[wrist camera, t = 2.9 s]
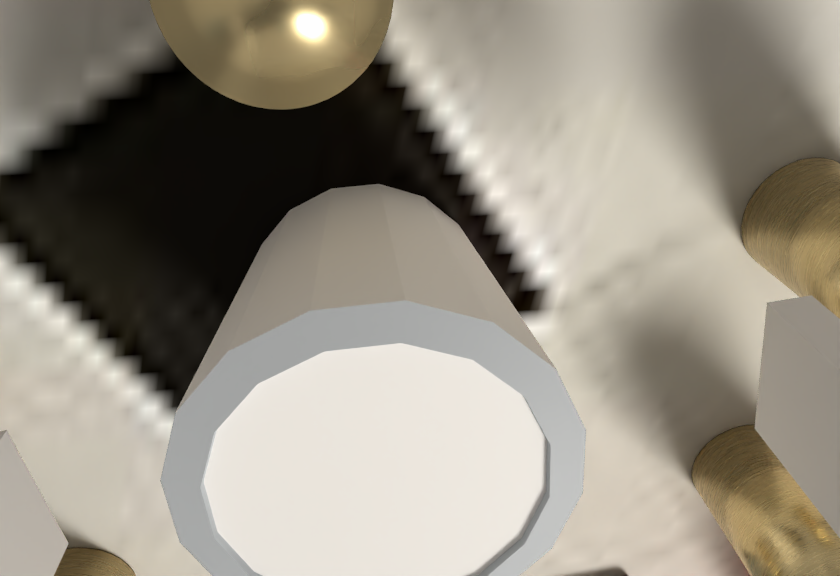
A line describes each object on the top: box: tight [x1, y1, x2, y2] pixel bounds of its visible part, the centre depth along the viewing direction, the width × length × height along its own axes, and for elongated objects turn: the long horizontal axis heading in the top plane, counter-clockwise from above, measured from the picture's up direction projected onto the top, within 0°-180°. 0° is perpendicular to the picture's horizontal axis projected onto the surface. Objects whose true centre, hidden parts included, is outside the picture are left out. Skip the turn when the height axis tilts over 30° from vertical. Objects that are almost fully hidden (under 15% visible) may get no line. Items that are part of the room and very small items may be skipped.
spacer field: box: [54, 0, 840, 576], centre depth 15 cm, size 25×18×6 cm
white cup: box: [160, 184, 586, 576], centre depth 14 cm, size 7×7×7 cm
